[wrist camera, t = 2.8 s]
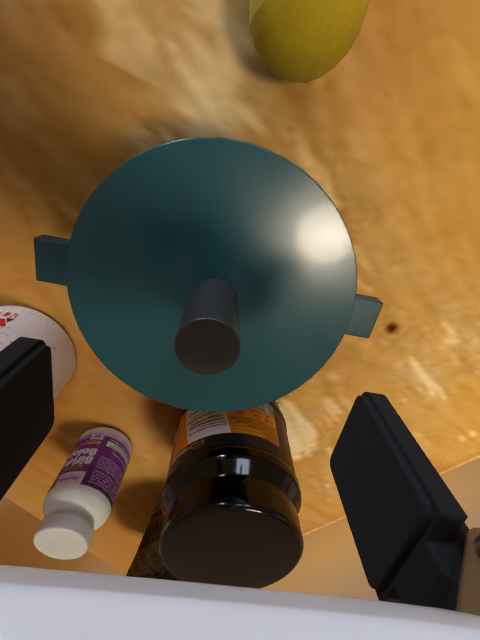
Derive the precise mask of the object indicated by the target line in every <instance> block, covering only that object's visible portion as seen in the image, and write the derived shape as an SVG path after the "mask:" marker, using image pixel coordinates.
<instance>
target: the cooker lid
mask: <svg viewBox="0 0 480 640" xmlns="http://www.w3.org/2000/svg"><path fill="white" fill-rule="evenodd" d="M66 277H67V287H68V295H69V299H70V303H71V307H72V311H73V314H74V316H75V319H76V321H77V324H78V327H79V329H80V330H81V332H82V334H83V336H84V338H85V340H86V342H87V343H88V345H89V346H90V347H91V349H92V350H93V352H94V353H95V354H96V356H97V357H98V358H99V359H100V360H101V361H102V363H103V364H104V365H105V366H106V367H107V368H108V369H109V370H110V371H111V372H112V373H113V374H115V375H116V376H117V377H118V378H119V379H120V380H122V381H123V382H125V383H126V384H127V385H129V386H130V387H132V388H133V389H135V390H136V391H138V392H140V393H142V394H144V395H146V396H147V397H149V398H152V399H154V400H157V401H159V402H161V403H164V404H167V405H171V406H174V407H177V408H181V409H187V410H192V411H200V412H231V411H240V410H245V409H249V408H254V407H258V406H261V405H263V404H266V403H269V402H272V401H274V400H276V399H279V398H281V397H283V396H285V395H287V394H288V393H290V392H292V391H293V390H295V389H297V388H298V387H300V386H301V385H302V384H304V383H305V382H306V381H308V380H309V379H310V378H311V377H312V376H313V375H315V374H316V373H317V372H318V371H319V370H320V369H321V368H322V367H323V366H324V364H325V363H326V362H327V361H328V359H329V358H330V357H331V356H332V354H333V353H334V351H335V350H336V348H337V347H338V345H339V343H340V342H341V340H342V338H343V336H344V334H345V331H346V329H347V327H348V325H349V322H350V318H351V315H352V312H353V309H354V303H355V297H356V288H357V269H356V261H355V253H354V250H353V246H352V242H351V238H350V235H349V233H348V230H347V228H346V225H345V223H344V221H343V218H342V217H341V215H340V213H339V212H338V210H337V208H336V207H335V205H334V203H333V202H332V200H331V199H330V198H329V196H328V195H327V194H326V193H325V192H324V190H323V189H322V188H321V187H320V185H319V184H318V183H317V182H315V181H314V180H313V179H312V178H311V177H310V176H309V175H308V174H307V173H306V172H305V171H303V170H302V169H301V168H299V167H298V166H296V165H295V164H293V163H292V162H290V161H289V160H287V159H286V158H284V157H282V156H280V155H278V154H276V153H274V152H272V151H270V150H268V149H266V148H263V147H260V146H257V145H253V144H250V143H247V142H244V141H239V140H232V139H226V138H200V137H197V138H190V139H183V140H176V141H172V142H169V143H165V144H162V145H159V146H156V147H153V148H150V149H148V150H146V151H144V152H142V153H140V154H138V155H136V156H134V157H132V158H131V159H129V160H128V161H126V162H125V163H124V164H122V165H121V166H119V167H118V168H116V169H115V170H114V171H113V172H112V173H111V174H110V175H109V176H108V177H107V178H105V179H104V180H103V181H102V182H101V183H100V184H99V186H98V187H97V188H96V189H95V191H94V192H93V193H92V195H91V196H90V197H89V199H88V200H87V202H86V203H85V205H84V207H83V209H82V211H81V213H80V214H79V216H78V218H77V221H76V224H75V226H74V229H73V232H72V235H71V238H70V244H69V249H68V254H67V270H66Z"/></svg>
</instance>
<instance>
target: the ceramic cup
mask: <svg viewBox="0 0 480 640" xmlns="http://www.w3.org/2000/svg"><path fill="white" fill-rule="evenodd" d="M164 517H165V516H164V514H163V511H162V505H161V503H160V504H158V505H157V506H156V507H155V509H154V512H153V514H152V516H151V519H150V522H149V524H148V526H147V529H146V531H145V533H144V536H143V538H142V541H141V543H140V546H139V548H138V551H137V554H136V556H135V558H134V560H133V562H132V564H131V566H130V568H129V570H128V573H127V575H126V576H131V577H142V578H152V579H163V580H174V581H181V580H179V579H178V578H176V577H175V576H174V575H172V574H171V573H170V572H169V571H168V569H167V568H166V567H165V565H164V564H163V562H162V560H161V557H160V553H159V542H160V537H161V531H162V526H163V521H164Z"/></svg>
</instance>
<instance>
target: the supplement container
mask: <svg viewBox="0 0 480 640" xmlns="http://www.w3.org/2000/svg"><path fill="white" fill-rule="evenodd" d="M161 505H162V511H163V514H164V516H165V517H164V521H163V526H162V531H161V537H160V542H159V553H160V557H161V560H162V562H163V564H164V565H165V567H166V568H167V569H168V571H169V572H170V573H171V574H172V575H174V576H175V577H176V578H178V579H179V580H181V581H185V582H195V583H206V584H216V585H227V586H237V587H247V588H258V589H259V588H262V587H266V586H268V585H271V584H273V583H275V582H277V581H279V580H280V579H282V578H284V577H285V576H286V575H288V574H289V573H290V572H291V571H292V570H293V569H294V568H295V566H296V565H297V564H298V562H299V560H300V558H301V556H302V553H303V537H302V532H301V527H300V522H299V517H298V513H299V510H300V507H301V491H300V486H299V482H298V480H297V478H296V475H295V470H294V466H293V461H292V456H291V451H290V446H289V442H288V437H287V428H286V423H285V419H284V416H283V414H282V412H281V410H280V409H279V407H278V406H277V405H276V404H275V403H274V401H272V402H269V403H266V404H263V405H261V406H258V407H254V408H249V409H245V410H240V411H231V412H200V411H192V410H187V409H184V410H183V411H182V413H181V415H180V417H179V420H178V423H177V428H176V437H175V442H174V446H173V451H172V456H171V461H170V465H169V470H168V475H167V478H166V480H165V483H164V486H163V490H162V496H161Z"/></svg>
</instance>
